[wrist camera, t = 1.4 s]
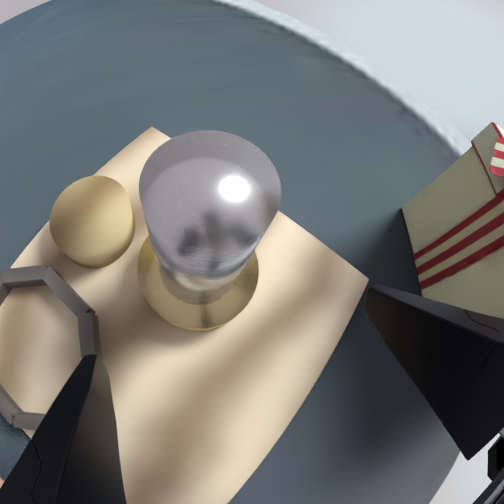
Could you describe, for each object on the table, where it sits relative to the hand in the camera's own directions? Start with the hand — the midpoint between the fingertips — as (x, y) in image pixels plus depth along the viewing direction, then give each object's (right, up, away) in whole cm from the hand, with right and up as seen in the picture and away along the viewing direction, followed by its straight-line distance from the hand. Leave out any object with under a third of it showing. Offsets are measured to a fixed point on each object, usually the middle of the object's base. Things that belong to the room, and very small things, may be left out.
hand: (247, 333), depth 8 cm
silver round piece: (-4, +1, +11) cm, 12 cm away
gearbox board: (-7, -3, +10) cm, 12 cm away
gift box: (+22, 0, +18) cm, 28 cm away
